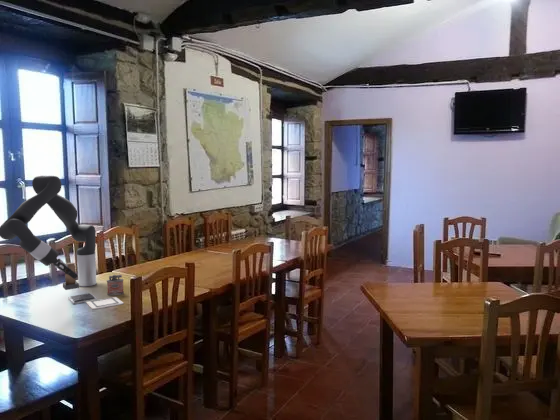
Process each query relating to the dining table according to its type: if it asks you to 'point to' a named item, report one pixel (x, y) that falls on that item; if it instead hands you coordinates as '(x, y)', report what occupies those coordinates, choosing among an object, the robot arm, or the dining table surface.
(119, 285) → the lighter
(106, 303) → the marked board
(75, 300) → the ink pad
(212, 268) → the dining table surface
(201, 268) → the dining table surface
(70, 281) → the stamp
